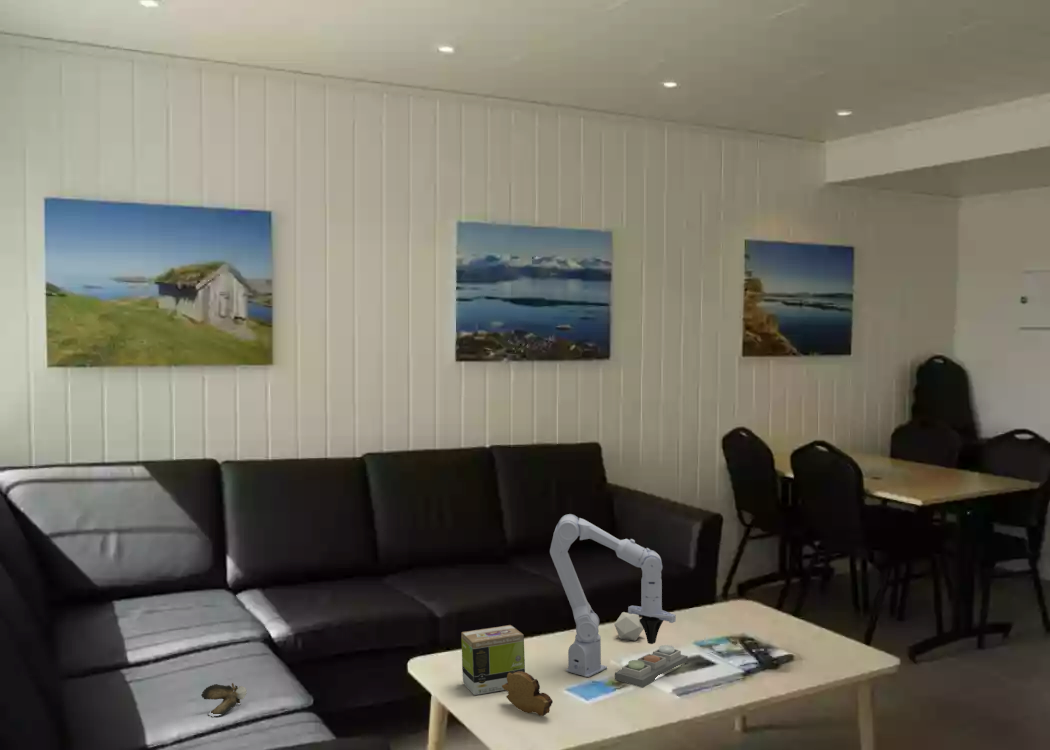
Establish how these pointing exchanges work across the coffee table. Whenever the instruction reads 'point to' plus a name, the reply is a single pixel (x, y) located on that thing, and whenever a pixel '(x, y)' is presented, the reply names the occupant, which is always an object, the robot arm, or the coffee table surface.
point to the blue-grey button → (666, 649)
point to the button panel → (650, 668)
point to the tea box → (491, 657)
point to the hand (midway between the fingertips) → (651, 642)
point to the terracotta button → (652, 658)
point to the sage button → (636, 665)
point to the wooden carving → (526, 693)
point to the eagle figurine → (224, 696)
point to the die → (628, 626)
